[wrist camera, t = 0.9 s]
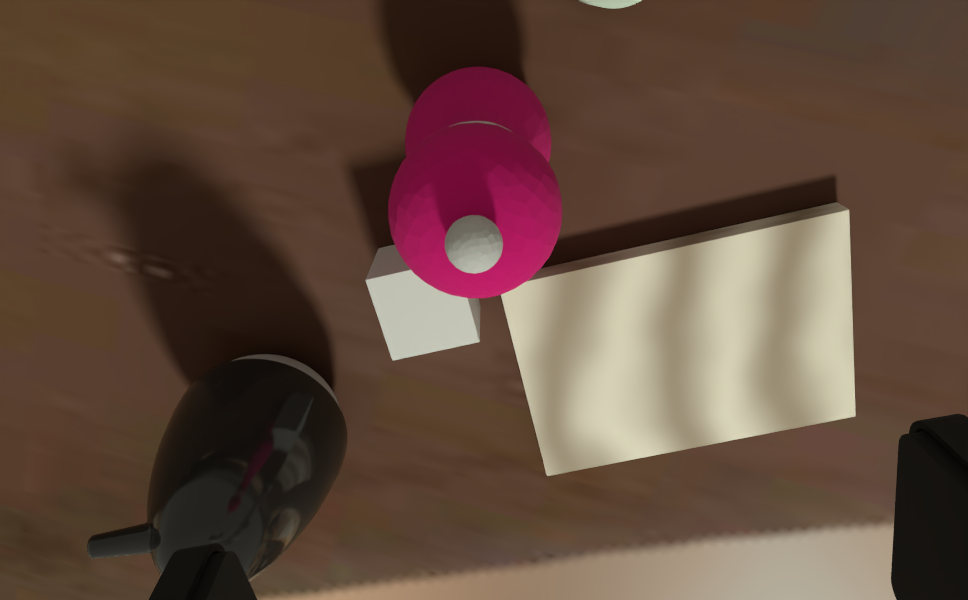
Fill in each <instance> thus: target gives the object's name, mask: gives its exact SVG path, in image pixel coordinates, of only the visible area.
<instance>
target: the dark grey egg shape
mask: <svg viewBox="0 0 968 600" xmlns="http://www.w3.org/2000/svg"><path fill="white" fill-rule="evenodd" d="M346 448H347V428H346V423H345V420H344V417H343V414H342V412H341V410H340V406H339V404H338V401H337V399H336V397H335V395H334V393H333V391H332V389H331V388H330V387H329V385H328V384H327V383H326V382H325V380H324V379H323V378H322V377H321V376H320V375H319V374H318V373H316V372H315V371H314V370H313V369H311V368H310V367H308V366H306V365H305V364H303V363H301V362H299V361H296V360H294V359H291V358H288V357H284V356H279V355H272V354H257V355H250V356H245V357H241V358H238V359H235V360H232V361H229V362H226V363H223V364H220V365H218V366H215V367H213V368H211V369H210V370H208V371H206V372H205V373H203V374H202V375H201V376H200V377H198V378H197V379H196V380H195V381H194V382H193V383H192V384H191V386H190V387H189V388H188V389H187V391H186V392H185V394H184V395H183V397H182V398H181V400H180V401H179V403H178V405H177V407H176V408H175V410H174V412H173V415H172V417H171V419H170V421H169V423H168V425H167V428H166V430H165V432H164V435H163V437H162V440H161V442H160V445H159V448H158V451H157V454H156V458H155V461H154V465H153V469H152V474H151V478H150V484H149V491H148V501H147V523H144V524H141V525H136V526H132V527H128V528H123V529H119V530H114V531H110V532H105V533H101V534H97V535H93V536H92V537H90V539H89V540H88V544H87V553H88V555H89V557H90V558H93V559H95V558H106V557H116V556H126V555H137V554H151V556H152V559H153V562H154V564H155V566H156V568H157V570H158V572H159V574H160V575H162V573H163V571H164V569H165V567H166V565H167V563H168V561H169V559H170V558H171V556H172V555H173V553H174V552H176V551H177V550H179V549H184V548H190V547H196V546H201V545H207V544H213V543H219V544H220V545H222V546H223V547H224V549H225V551H226V552H228V551H233V552H234V553H236V555H237V556H238V558H239V560H240V563H241V565H242V567H243V569H244V572H245V574H246V576H247V578H248V580H249V581H251V580H252V579H254V578H255V577H257V576H258V575H259V574H261V573H262V572H263V571H264V570H266V569H267V568H268V567H269V566H270V565H271V564H272V563H273V562H275V561H276V560H277V559H278V558H279V557H280V556H281V555H282V554H283V553H284V552H285V551H286V550H287V549H288V548H289V547H290V545H291V544H292V543H293V542H294V541H295V540H296V539H297V538H298V536H299V535H300V534H301V533H302V532H303V531H304V529H305V528H306V527H307V525H308V524H309V523H310V522H311V520H312V519H313V517H314V516H315V514H316V513H317V511H318V510H319V508H320V507H321V505H322V504H323V502H324V500H325V498H326V497H327V495H328V493H329V491H330V489H331V487H332V486H333V484H334V482H335V480H336V478H337V476H338V473H339V471H340V469H341V466H342V463H343V460H344V457H345V453H346Z"/></svg>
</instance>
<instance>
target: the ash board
mask: <svg viewBox="0 0 968 600" xmlns="http://www.w3.org/2000/svg"><path fill="white" fill-rule="evenodd" d="M501 298H502V302H503V305H504V309H505V313H506V317H507V321H508V325H509V329H510V333H511V337H512V341H513V345H514V349H515V353H516V356H517V360H518V364H519V368H520V372H521V376H522V380H523V384H524V388H525V392H526V396H527V400H528V404H529V407H530V411H531V415H532V419H533V423H534V427H535V431H536V435H537V439H538V443H539V447H540V451H541V455H542V458H543V462H544V466H545V470H546V474H547V476H550V475H555V474H560V473H565V472H571V471H576V470H581V469H586V468H591V467H596V466H602V465H607V464H612V463H617V462H622V461H627V460H633V459H638V458H643V457H648V456H653V455H658V454H663V453H669V452H674V451H679V450H684V449H689V448H694V447H700V446H705V445H710V444H715V443H720V442H725V441H731V440H736V439H741V438H746V437H751V436H756V435H761V434H767V433H772V432H777V431H782V430H787V429H792V428H798V427H803V426H808V425H813V424H818V423H823V422H829V421H834V420H839V419H844V418H849V417H854V416H855V384H854V352H853V320H852V288H851V256H850V223H849V209H847V208H845V207H844V206H842V205H841V204H839V203H837V202H835V203H831V204H826V205H822V206H817V207H813V208H809V209H804V210H800V211H795V212H791V213H786V214H782V215H777V216H773V217H768V218H764V219H759V220H755V221H750V222H746V223H741V224H737V225H733V226H728V227H724V228H719V229H715V230H710V231H706V232H701V233H697V234H692V235H688V236H683V237H679V238H674V239H670V240H665V241H661V242H657V243H652V244H648V245H643V246H639V247H634V248H630V249H625V250H621V251H616V252H612V253H607V254H603V255H598V256H594V257H589V258H585V259H581V260H576V261H572V262H567V263H563V264H558V265H554V266H549V267H545V268H540V269H539V270H538V271H537V272H536V273H535V274H534V275H533V277H532V278H531V279H529V280H528V281H526V282H524V283H523V284H521V285H520V286H518V287H517V288H515V289H513V290H511V291H508V292H506V293H504V294H501Z"/></svg>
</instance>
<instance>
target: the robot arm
mask: <svg viewBox="0 0 968 600" xmlns="http://www.w3.org/2000/svg"><path fill="white" fill-rule="evenodd" d="M891 583H892V587H893V591H894V594H895V597H896V599H897V600H968V417H966V416H965V415H961V414H954V415H948V416H943V417H937V418H931V419H925V420H920V421H916V422H914V423H913V424H912V425H911V427H910V431H909V434H904V435H902V436H901V438H900V440H899V447H898V465H897V483H896V501H895V518H894V537H893V554H892V572H891ZM149 600H257V598H256V596H255V594H254V592H253V589H252V587H251V585H250V583H249V580H248V578H247V576H246V574H245V572H244V569H243V567H242V565H241V563H240V560H239V558H238V556H237V555H236V553H234V552H233V551H228V552H226V551H225V549H224V547H223V546H222V545H220V544H219V543H213V544H207V545H201V546H196V547H190V548H184V549H179V550H177V551H176V552H174V553H173V555H172V556H171V558H170V559H169V561H168V563H167V565H166V567H165V569H164V571H163V573H162V575H161V577H160V579H159V581H158V583H157V585H156V586H155V588H154V590H153V592H152V594H151V596H150V598H149Z"/></svg>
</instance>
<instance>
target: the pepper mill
mask: <svg viewBox="0 0 968 600" xmlns="http://www.w3.org/2000/svg"><path fill="white" fill-rule="evenodd" d="M405 152H406V158H405V159H404V160H403V161H402V163H401V165H400V167H399V169H398V171H397V173H396V175H395V177H394V180H393V184H392V187H391V191H390V196H389V201H388V220H389V226H390V232H391V236H392V238H393V241H394V244H395V247H396V249H397V251H398V252H399V254H400V256H401V257H402V259H403V261H404V262H405V263H406V264H407V266H408V267H409V268H410V269H411V270H412V271H413V273H414V274H415V275H417V276H418V277H419V278H420V279H422V280H423V281H424V282H425V283H427V284H429V285H430V286H432V287H434V288H436V289H437V290H439V291H442V292H444V293H447V294H450V295H454V296H459V297H465V298H488V297H493V296H497V295H501V294H504V293H506V292H508V291H511V290H513V289H515V288H517V287H518V286H520V285H521V284H523V283H524V282H526V281H528V280H529V279H531V278H532V277H533V275H534V274H535V273H536V272H537V271H538V270H539V269H540V268H541V267H542V266H543V265H544V263H545V262H546V261H547V259H548V258H549V257H550V255H551V253H552V251H553V248H554V246H555V244H556V242H557V239H558V235H559V232H560V229H561V221H562V199H561V194H560V189H559V185H558V182H557V179H556V177H555V174H554V172H553V170H552V168H551V167H550V165H549V159H550V155H551V133H550V125H549V122H548V118H547V115H546V112H545V110H544V108H543V106H542V104H541V102H540V100H539V99H538V98H537V96H536V95H535V94H534V92H533V91H532V90H531V89H530V88H529V87H528V86H527V85H526V84H525V83H523V82H522V81H520V80H519V79H517V78H516V77H514V76H513V75H511V74H509V73H506V72H504V71H501V70H498V69H494V68H489V67H468V68H462V69H458V70H455V71H452V72H450V73H448V74H446V75H444V76H442V77H440V78H438V79H437V80H436V81H434V82H433V83H432V84H430V85H429V86H428V87H427V88H426V89H425V90H424V91H423V93H422V94H421V95H420V97H419V98H418V100H417V101H416V102H415V105H414V107H413V109H412V111H411V113H410V116H409V119H408V123H407V129H406V137H405Z"/></svg>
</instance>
